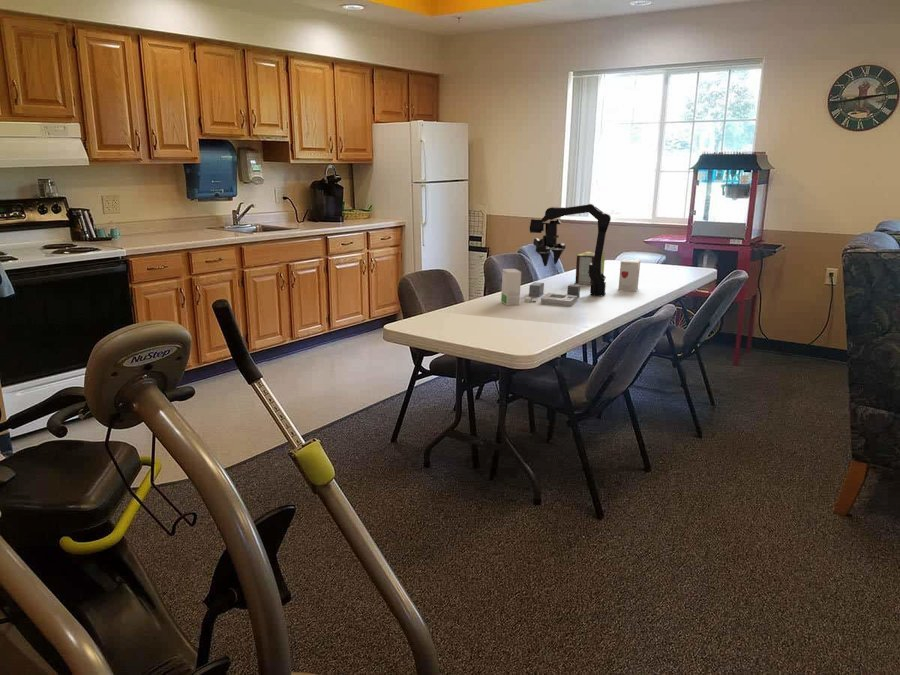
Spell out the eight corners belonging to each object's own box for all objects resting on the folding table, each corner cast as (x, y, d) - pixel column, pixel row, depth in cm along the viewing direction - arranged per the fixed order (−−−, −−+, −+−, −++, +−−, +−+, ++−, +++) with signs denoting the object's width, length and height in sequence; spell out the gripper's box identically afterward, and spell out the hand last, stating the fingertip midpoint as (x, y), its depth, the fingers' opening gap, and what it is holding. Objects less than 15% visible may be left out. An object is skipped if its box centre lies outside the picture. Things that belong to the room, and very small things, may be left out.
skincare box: (500, 302, 301) (501, 268, 297) (514, 301, 302) (515, 268, 298) (506, 305, 293) (507, 271, 289) (520, 305, 295) (521, 271, 290)
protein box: (603, 281, 354) (605, 252, 349) (593, 285, 341) (595, 256, 337) (585, 279, 359) (586, 251, 355) (574, 283, 347) (576, 254, 342)
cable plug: (537, 301, 303) (537, 297, 302) (535, 302, 300) (535, 299, 299) (526, 300, 304) (526, 297, 304) (524, 301, 302) (524, 298, 301)
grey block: (579, 297, 313) (580, 283, 311) (577, 299, 308) (578, 285, 307) (569, 296, 315) (570, 282, 313) (567, 298, 310) (567, 284, 308)
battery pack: (543, 293, 320) (544, 282, 319) (539, 297, 312) (539, 285, 311) (533, 293, 322) (534, 282, 321) (529, 296, 314) (529, 285, 312)
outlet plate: (577, 300, 305) (577, 294, 304) (571, 306, 293) (571, 300, 292) (548, 297, 310) (548, 292, 309) (540, 303, 298) (541, 298, 297)
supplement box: (617, 290, 329) (620, 261, 325) (620, 287, 337) (622, 258, 333) (636, 291, 326) (638, 262, 322) (638, 288, 334) (640, 259, 330)
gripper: (547, 230, 328) (546, 261, 333) (526, 234, 315) (526, 265, 319) (566, 231, 321) (565, 263, 326) (546, 235, 308) (545, 268, 312)
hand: (550, 265), depth 321 cm, fingers open, 9 cm apart
